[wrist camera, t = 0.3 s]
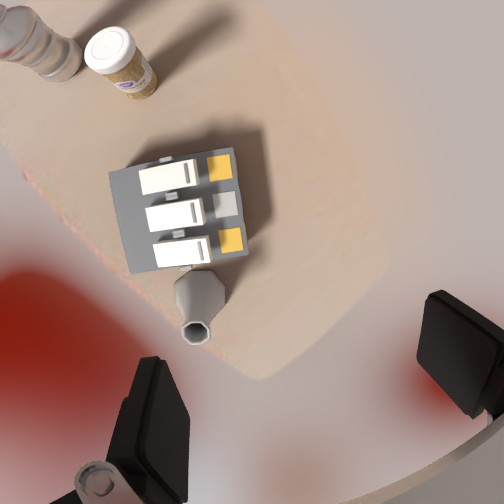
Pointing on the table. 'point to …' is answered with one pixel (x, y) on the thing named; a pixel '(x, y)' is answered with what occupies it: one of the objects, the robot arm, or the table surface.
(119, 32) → the sprinkles bottle
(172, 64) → the table surface
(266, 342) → the table surface
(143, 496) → the robot arm
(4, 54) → the plastic bottle
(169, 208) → the switch
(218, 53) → the table surface
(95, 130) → the table surface
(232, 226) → the console
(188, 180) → the switch
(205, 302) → the flask
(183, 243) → the switch
